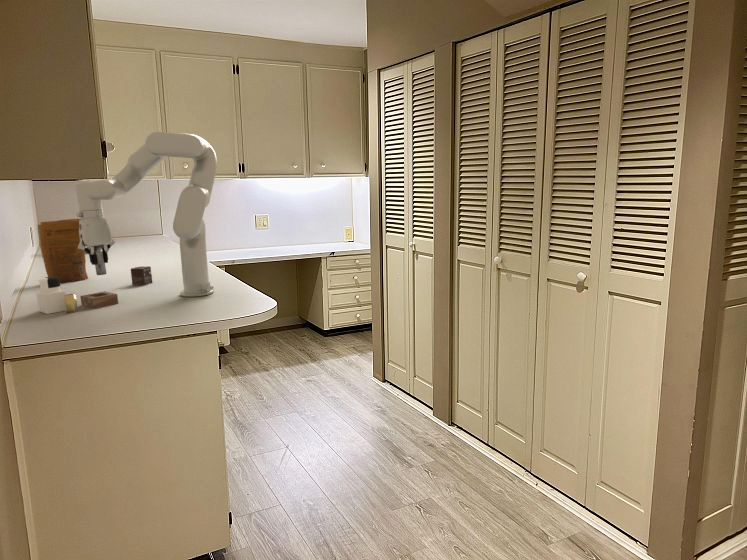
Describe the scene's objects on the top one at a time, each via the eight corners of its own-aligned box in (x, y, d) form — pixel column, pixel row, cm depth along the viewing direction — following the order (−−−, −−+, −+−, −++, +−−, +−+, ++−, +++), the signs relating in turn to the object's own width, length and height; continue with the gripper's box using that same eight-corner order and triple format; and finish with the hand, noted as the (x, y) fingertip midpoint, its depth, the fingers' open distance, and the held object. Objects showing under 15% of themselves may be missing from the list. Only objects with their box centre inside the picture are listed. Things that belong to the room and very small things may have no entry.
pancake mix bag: (93, 279, 251) (85, 218, 246) (45, 285, 240) (36, 221, 234) (90, 277, 256) (82, 217, 251) (43, 283, 245) (34, 220, 240)
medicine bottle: (60, 307, 197) (55, 274, 195) (68, 310, 192) (64, 276, 190) (38, 311, 192) (33, 278, 189) (46, 314, 187) (41, 280, 185)
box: (144, 285, 233) (142, 268, 232) (131, 285, 235) (130, 268, 233) (152, 282, 239) (151, 266, 238) (140, 282, 240) (138, 266, 239)
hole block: (118, 303, 201) (117, 293, 200) (93, 308, 194) (92, 298, 193) (105, 300, 206) (104, 291, 206) (81, 305, 199) (80, 296, 199)
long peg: (108, 273, 208) (103, 242, 205) (99, 275, 205) (94, 243, 203) (103, 273, 210) (98, 242, 207) (95, 274, 207) (89, 243, 205)
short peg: (79, 311, 190) (77, 294, 189) (69, 313, 188) (67, 296, 187) (75, 310, 192) (72, 293, 191) (64, 312, 190) (62, 295, 189)
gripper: (73, 217, 194) (82, 268, 198) (118, 212, 207) (125, 260, 211) (63, 217, 199) (72, 267, 202) (108, 212, 212) (115, 259, 215)
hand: (99, 263), depth 207 cm, fingers closed on long peg, 3 cm apart
